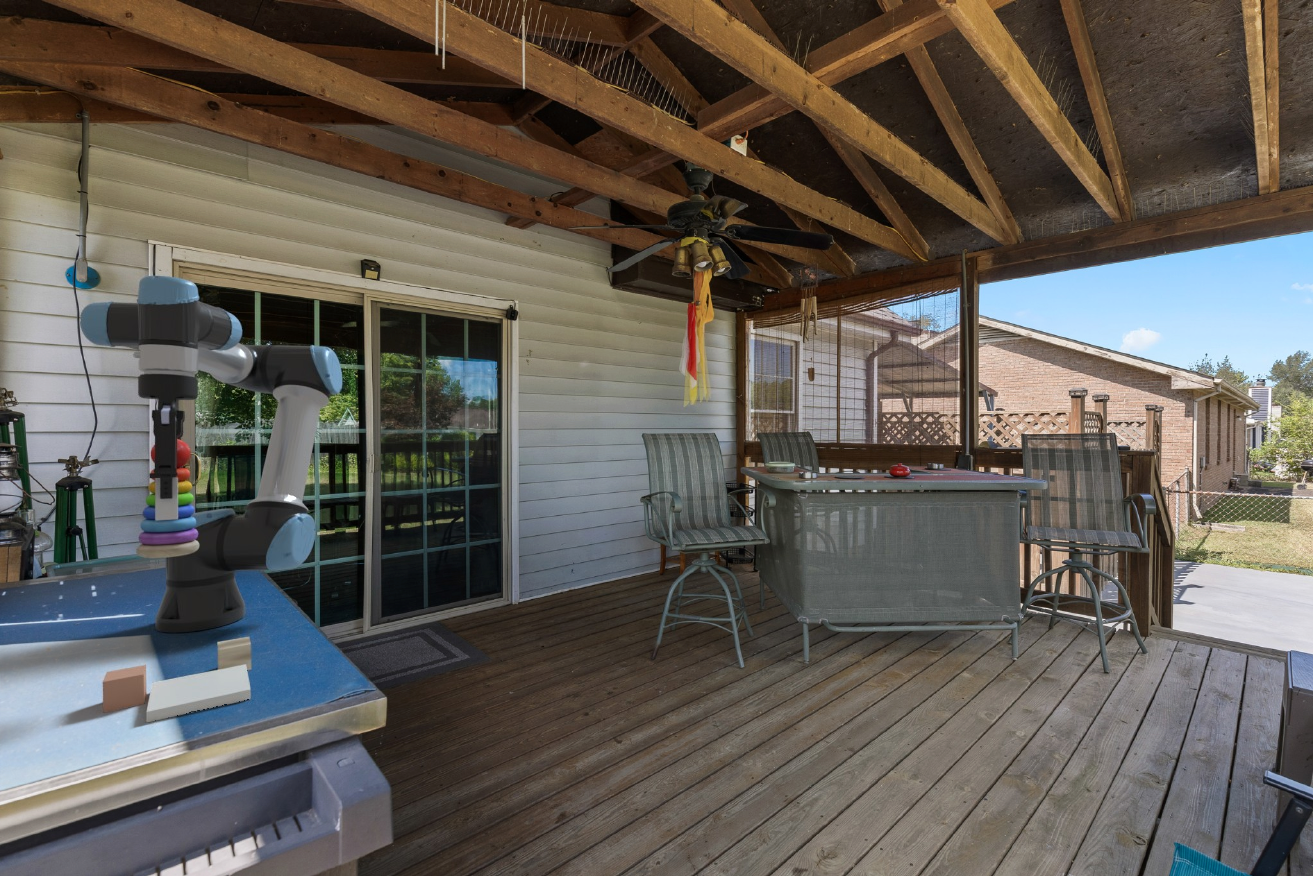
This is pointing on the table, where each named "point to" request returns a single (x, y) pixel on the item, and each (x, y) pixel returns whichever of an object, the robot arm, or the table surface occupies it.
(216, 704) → the white square slab
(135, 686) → the terracotta block
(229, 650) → the birch block
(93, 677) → the table surface
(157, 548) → the stacking toy
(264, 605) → the table surface
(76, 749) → the table surface
